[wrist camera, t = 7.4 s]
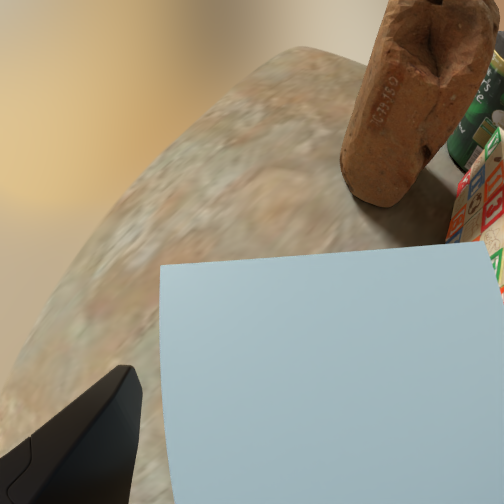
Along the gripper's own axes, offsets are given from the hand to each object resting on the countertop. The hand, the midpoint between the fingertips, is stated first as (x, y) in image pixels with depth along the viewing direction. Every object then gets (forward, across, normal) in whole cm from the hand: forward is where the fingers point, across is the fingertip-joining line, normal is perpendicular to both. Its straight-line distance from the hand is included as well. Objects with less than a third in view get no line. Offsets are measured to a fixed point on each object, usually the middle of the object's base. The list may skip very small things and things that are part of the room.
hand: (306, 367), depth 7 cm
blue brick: (+4, 0, +6) cm, 8 cm away
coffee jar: (+22, -28, -6) cm, 36 cm away
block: (+20, -12, -4) cm, 23 cm away
